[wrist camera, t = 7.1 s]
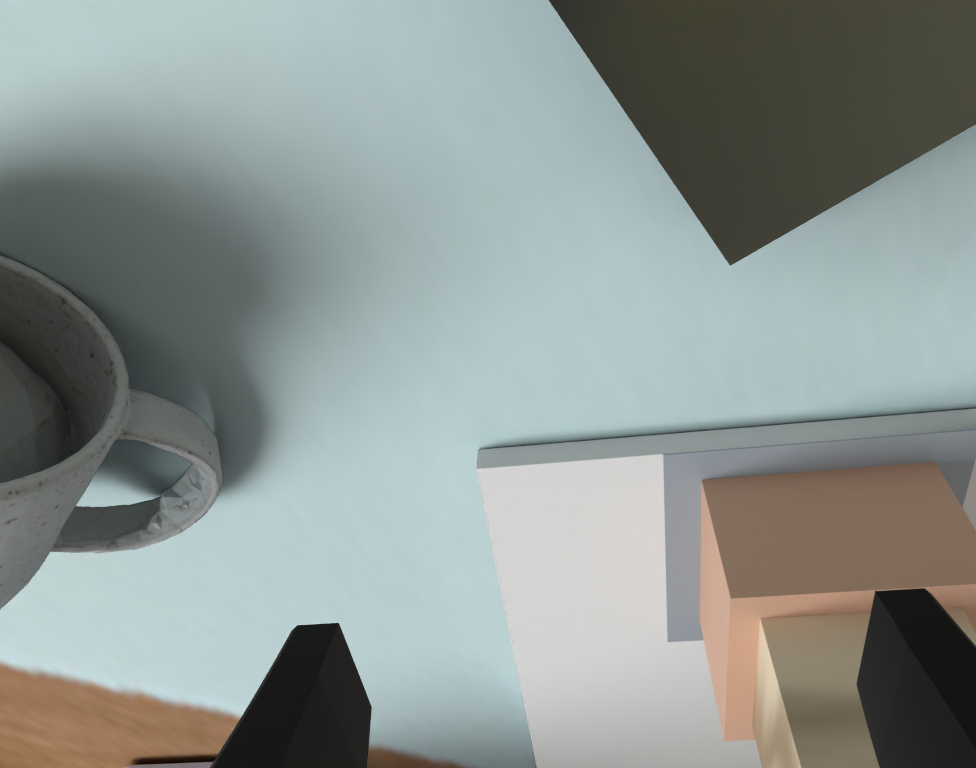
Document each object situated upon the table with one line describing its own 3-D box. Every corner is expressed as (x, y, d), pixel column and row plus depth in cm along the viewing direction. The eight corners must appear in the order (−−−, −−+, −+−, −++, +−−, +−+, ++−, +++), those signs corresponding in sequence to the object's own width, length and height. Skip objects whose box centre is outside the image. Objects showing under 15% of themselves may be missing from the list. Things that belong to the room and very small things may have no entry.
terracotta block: (900, 609, 25) (955, 731, 22) (699, 620, 26) (724, 741, 23) (935, 462, 22) (1006, 582, 18) (701, 479, 22) (730, 598, 19)
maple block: (929, 717, 22) (1010, 908, 18) (752, 725, 22) (795, 911, 18) (962, 606, 19) (1065, 802, 15) (760, 618, 19) (813, 811, 16)
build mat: (904, 770, 32) (912, 792, 31) (543, 783, 34) (543, 804, 33) (1010, 405, 21) (1025, 426, 21) (477, 449, 23) (476, 469, 22)
